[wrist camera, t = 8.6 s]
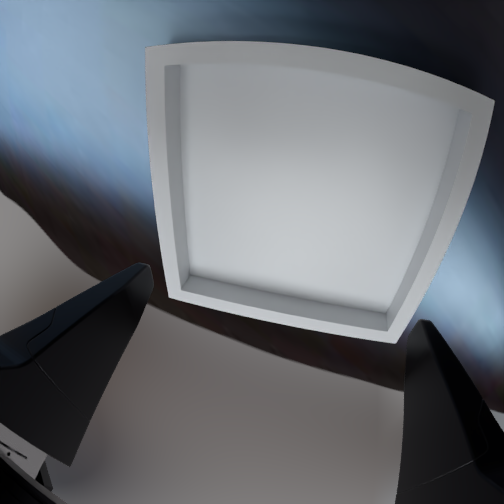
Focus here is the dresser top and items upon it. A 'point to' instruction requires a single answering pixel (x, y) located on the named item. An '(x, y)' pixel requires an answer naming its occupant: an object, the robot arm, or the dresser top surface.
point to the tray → (307, 180)
